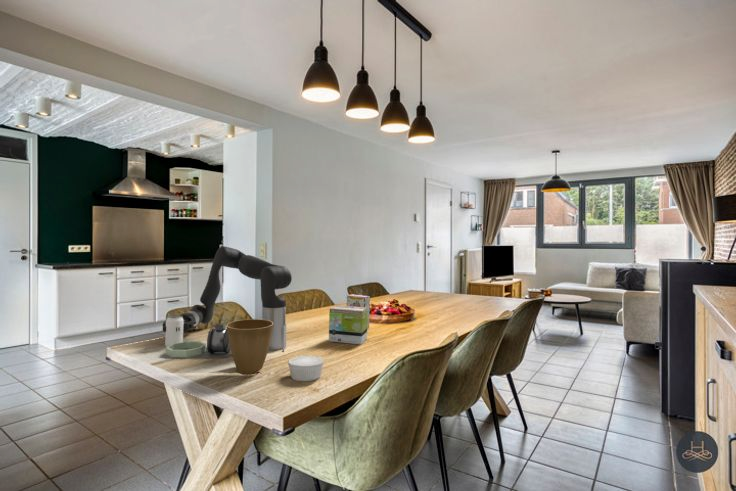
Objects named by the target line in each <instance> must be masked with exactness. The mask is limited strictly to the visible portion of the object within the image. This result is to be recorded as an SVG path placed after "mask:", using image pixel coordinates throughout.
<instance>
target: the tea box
mask: <svg viewBox="0 0 736 491" xmlns="http://www.w3.org/2000/svg"><path fill="white" fill-rule="evenodd" d="M367 315H368V308H367V307H353V306H347V305H338V304H337V305H335V306H333V307H331V308H329V321H328V322H329V323H328V342H330V343H331V342H332V343H333V342H334V343H343V344H353V345H358V346H359V345H360V346H361V345H363V343H365V342H366V340H367V338H368V329H367Z"/></svg>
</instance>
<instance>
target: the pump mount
mask: <svg viewBox="0 0 736 491" xmlns="http://www.w3.org/2000/svg"><path fill="white" fill-rule="evenodd" d="M230 355H232V353H231V351H230V352H229V353H225V352H213V353H209V352H208V350H207V343H205V342H203V341H198V340H197V341H189V340H188V341H187V340H186V341H183V342H180V343H174V344H171V345H169V346H168V347H166V346H165V353H164V354H162V355H161V356H159V357H158V359H227V358H228V357H229V356H230Z"/></svg>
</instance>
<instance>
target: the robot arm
mask: <svg viewBox="0 0 736 491" xmlns="http://www.w3.org/2000/svg"><path fill="white" fill-rule="evenodd" d="M222 267H226V268H230V269H237V270H238V271H239V272H240V274H242V275H243V276H244V277H248V278H249V279H253V280H260V299H261V300H260V301H261V308H262V309H261V315H262V316H261V319H262V320H268V321H271V322H273V329H272V335H271V340H270V345H269V349H268V351H278V350H282V352H285V350H286V349H287V323H286V320H287V319H286V316H287V315H286V313H287V312H286V310H287V307H286V306H287V302H286V301H287V300H286V298H284V297H281V296H278V295H277V294H276V290H281V289H286V288H288V287H289V286H290V285H291V282H292V279H293V277H292V274H291V271H290V270H289V269H288V268H287V267H286V266H284V265H278V264H274V263H271V262H269V261H268V262H267V261H266V260H264V259H262V258H259V257H256V256H255V255H254V256H253V255H250V254H245V253H244V252H242V251H240V250H239V249H236V248H233V247H229V246H220V247H219V248H218V249H217V251H216V253H215V255H214V257H213V261H212V264H211V267H210V272H209V274H208V275H209V276H208V279H207V282H206V284H205V287H204V289H203V292H202V294H201V296H200V298H199V301H200V303H201V304H202V305H203V306H202V305H201V304H194V305H193V306H192V307H191V309H190V310H189V311H186V312H184V313H181V314H180V315H181V316H183V317H182V318H183V320H184V323H183V332H187V331H189V330H192V329H196V328H197V325H199V324H200V323H201V324H204V325H207V324H208V323H210V322H211V321H212V319H213V316H214V310H215V304H216V301H217V299H218V297H219V295H220V293H221V281H220V270H221V269H222ZM162 331H163V333H166V320H165V321H163V322H162ZM178 331H180V327H179V328H178ZM176 332H177V327H176Z"/></svg>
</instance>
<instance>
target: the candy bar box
mask: <svg viewBox="0 0 736 491" xmlns="http://www.w3.org/2000/svg"><path fill="white" fill-rule="evenodd" d="M370 302H371V297H370V296H369V295H363V294H362V295H361V294H353V293H352V294H347V295H346V306H353V307H367V308H368V315H367V330H369V329H370V310H371V309H370V307H371V306H370V304H371V303H370Z"/></svg>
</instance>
